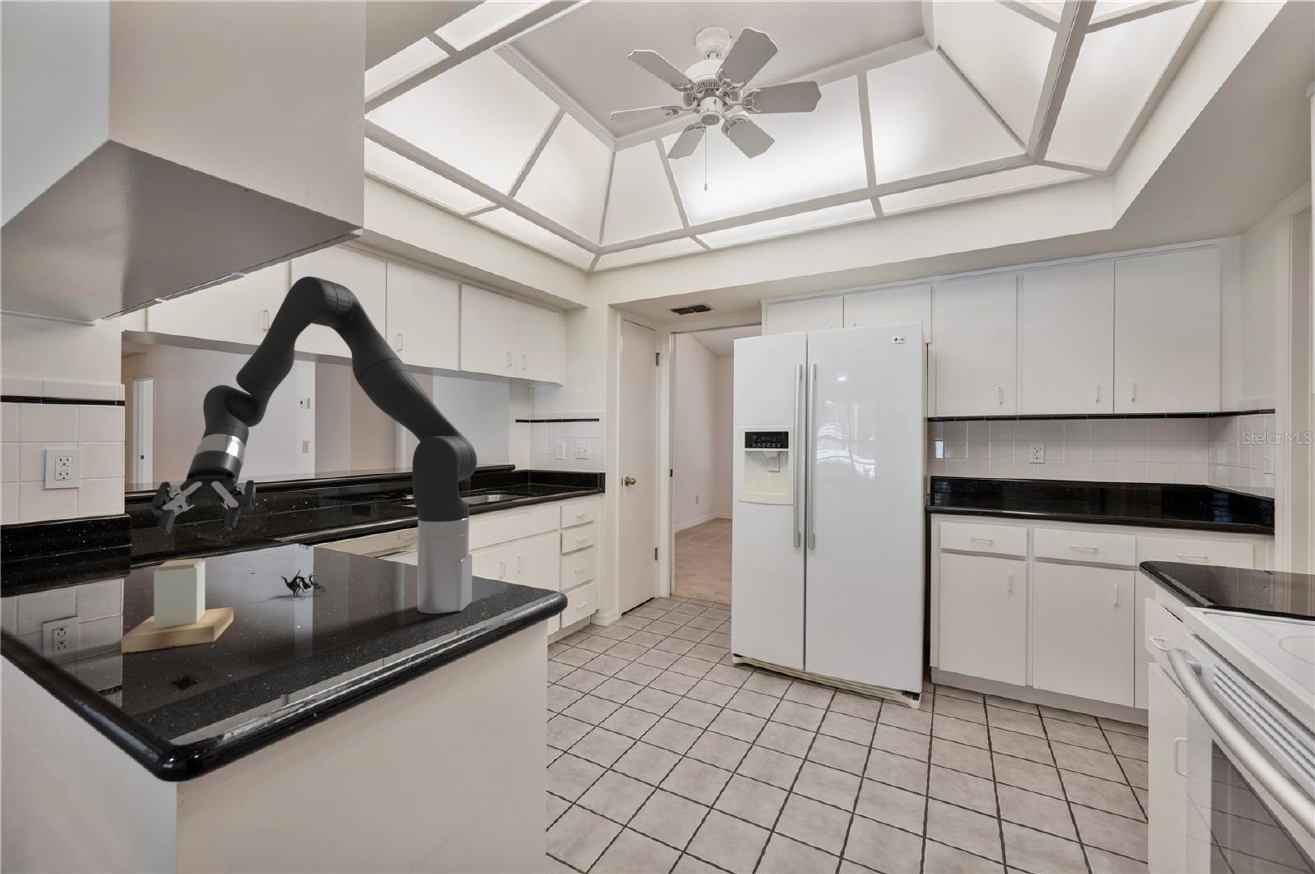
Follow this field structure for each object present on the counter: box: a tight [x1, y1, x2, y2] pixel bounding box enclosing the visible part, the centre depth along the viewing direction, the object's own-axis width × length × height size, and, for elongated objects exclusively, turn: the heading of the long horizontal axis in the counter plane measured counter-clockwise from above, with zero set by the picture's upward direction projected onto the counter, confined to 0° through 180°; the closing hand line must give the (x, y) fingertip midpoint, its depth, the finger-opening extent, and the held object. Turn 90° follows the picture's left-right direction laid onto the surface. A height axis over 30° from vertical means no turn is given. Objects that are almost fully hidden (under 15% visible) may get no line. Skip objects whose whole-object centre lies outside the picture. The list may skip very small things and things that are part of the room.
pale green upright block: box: [153, 557, 206, 629], centre depth 87 cm, size 5×5×10 cm
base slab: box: [121, 606, 234, 654], centre depth 87 cm, size 11×11×3 cm
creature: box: [280, 569, 327, 600], centre depth 110 cm, size 8×5×8 cm
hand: (196, 529), depth 93 cm, fingers open, 8 cm apart
